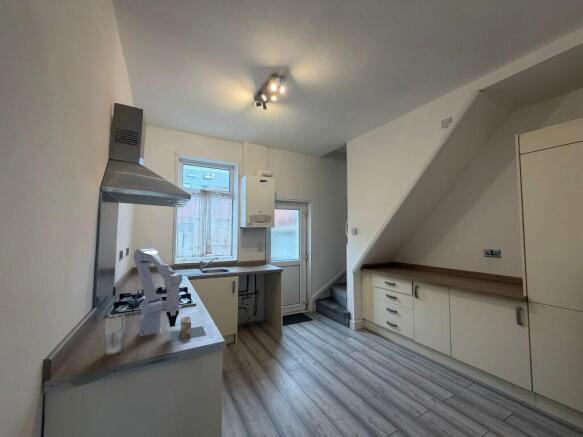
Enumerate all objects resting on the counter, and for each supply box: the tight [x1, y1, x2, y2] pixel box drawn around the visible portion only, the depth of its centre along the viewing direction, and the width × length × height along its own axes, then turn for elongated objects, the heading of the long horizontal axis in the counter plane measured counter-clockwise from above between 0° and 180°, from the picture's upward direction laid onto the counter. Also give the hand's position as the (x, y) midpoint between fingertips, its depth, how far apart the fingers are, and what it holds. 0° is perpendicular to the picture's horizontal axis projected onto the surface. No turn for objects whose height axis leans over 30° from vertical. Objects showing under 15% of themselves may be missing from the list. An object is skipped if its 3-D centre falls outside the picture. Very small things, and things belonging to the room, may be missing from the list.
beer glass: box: [104, 313, 126, 356], centre depth 107 cm, size 7×7×15 cm
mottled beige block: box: [180, 316, 192, 338], centre depth 124 cm, size 4×9×7 cm, turn 28°
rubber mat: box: [169, 325, 207, 343], centre depth 124 cm, size 16×14×1 cm
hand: (172, 326), depth 121 cm, fingers closed
